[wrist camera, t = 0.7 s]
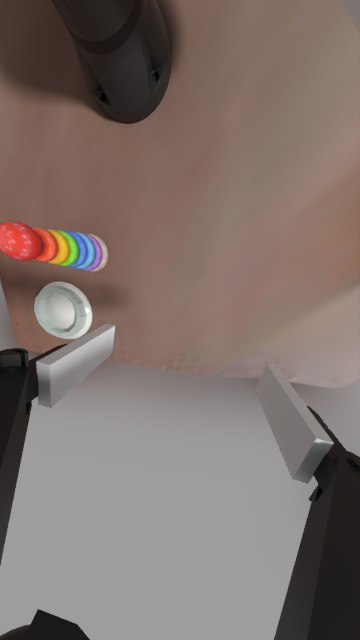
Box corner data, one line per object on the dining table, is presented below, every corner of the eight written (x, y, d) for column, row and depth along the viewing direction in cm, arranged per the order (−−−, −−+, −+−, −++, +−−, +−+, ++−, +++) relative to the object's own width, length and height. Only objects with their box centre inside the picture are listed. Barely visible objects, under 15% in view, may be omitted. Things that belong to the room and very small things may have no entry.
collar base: (31, 286, 44) (20, 287, 42) (82, 276, 41) (74, 276, 39) (51, 341, 48) (42, 344, 45) (99, 335, 45) (93, 338, 43)
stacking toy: (90, 226, 38) (-11, 185, 20) (116, 253, 39) (41, 236, 21) (71, 253, 40) (-35, 237, 22) (96, 278, 41) (13, 282, 23)
